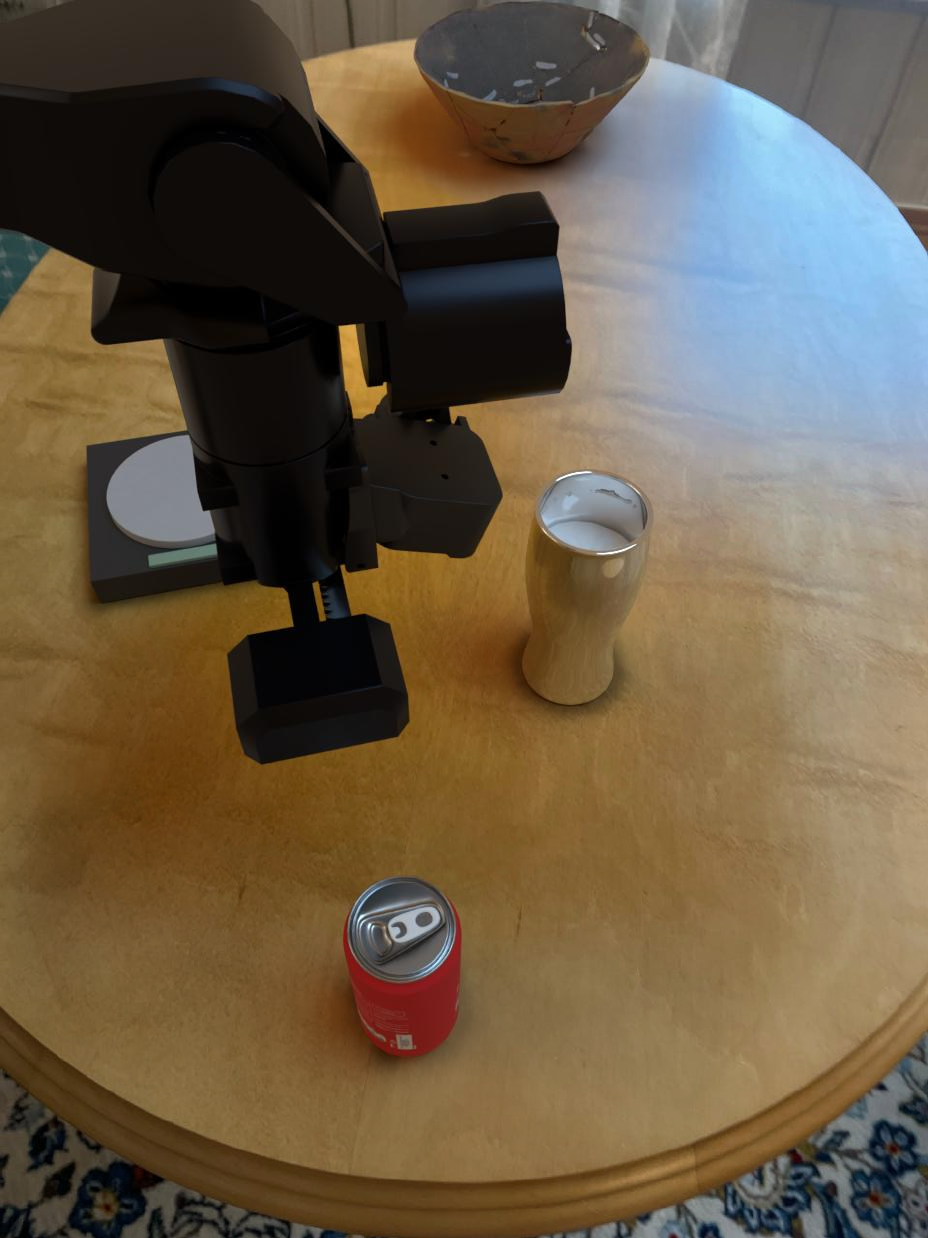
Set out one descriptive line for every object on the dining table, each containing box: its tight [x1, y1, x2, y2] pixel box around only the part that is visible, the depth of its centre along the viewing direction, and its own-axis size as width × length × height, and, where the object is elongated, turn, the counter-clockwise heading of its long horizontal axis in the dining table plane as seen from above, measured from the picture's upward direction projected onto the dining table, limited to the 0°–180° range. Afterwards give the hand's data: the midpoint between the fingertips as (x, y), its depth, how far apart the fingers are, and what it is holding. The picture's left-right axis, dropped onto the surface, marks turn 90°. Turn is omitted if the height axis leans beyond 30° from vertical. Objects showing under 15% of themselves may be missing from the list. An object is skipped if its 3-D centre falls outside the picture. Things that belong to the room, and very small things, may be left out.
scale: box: [85, 429, 223, 604], centre depth 72 cm, size 14×14×3 cm
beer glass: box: [521, 468, 655, 706], centre depth 59 cm, size 7×7×15 cm
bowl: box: [413, 0, 651, 165], centre depth 105 cm, size 25×25×10 cm
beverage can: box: [342, 875, 463, 1058], centre depth 46 cm, size 5×5×12 cm
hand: (314, 664), depth 47 cm, fingers open, 9 cm apart
